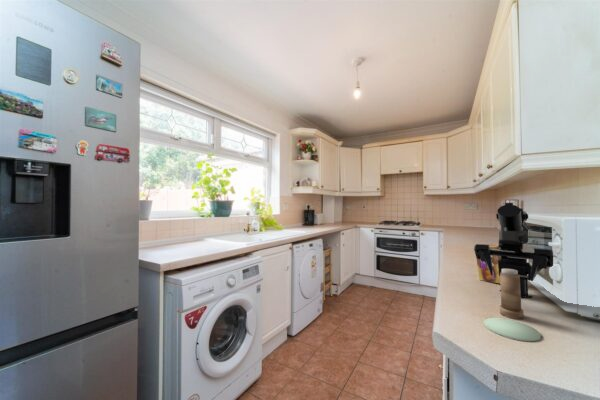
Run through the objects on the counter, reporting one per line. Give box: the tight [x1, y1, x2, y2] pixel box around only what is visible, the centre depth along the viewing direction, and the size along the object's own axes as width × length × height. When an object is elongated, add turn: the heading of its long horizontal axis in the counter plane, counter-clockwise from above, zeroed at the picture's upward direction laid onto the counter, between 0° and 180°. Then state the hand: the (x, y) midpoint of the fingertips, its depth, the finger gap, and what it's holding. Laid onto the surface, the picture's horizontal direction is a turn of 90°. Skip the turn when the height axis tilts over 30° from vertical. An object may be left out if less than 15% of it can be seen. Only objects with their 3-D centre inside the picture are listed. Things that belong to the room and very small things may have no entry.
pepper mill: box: [499, 268, 525, 320], centre depth 70 cm, size 5×5×13 cm
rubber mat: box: [483, 317, 542, 342], centre depth 62 cm, size 11×11×1 cm
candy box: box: [474, 243, 501, 284], centre depth 101 cm, size 9×4×15 cm, turn 26°
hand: (510, 277), depth 73 cm, fingers open, 9 cm apart
